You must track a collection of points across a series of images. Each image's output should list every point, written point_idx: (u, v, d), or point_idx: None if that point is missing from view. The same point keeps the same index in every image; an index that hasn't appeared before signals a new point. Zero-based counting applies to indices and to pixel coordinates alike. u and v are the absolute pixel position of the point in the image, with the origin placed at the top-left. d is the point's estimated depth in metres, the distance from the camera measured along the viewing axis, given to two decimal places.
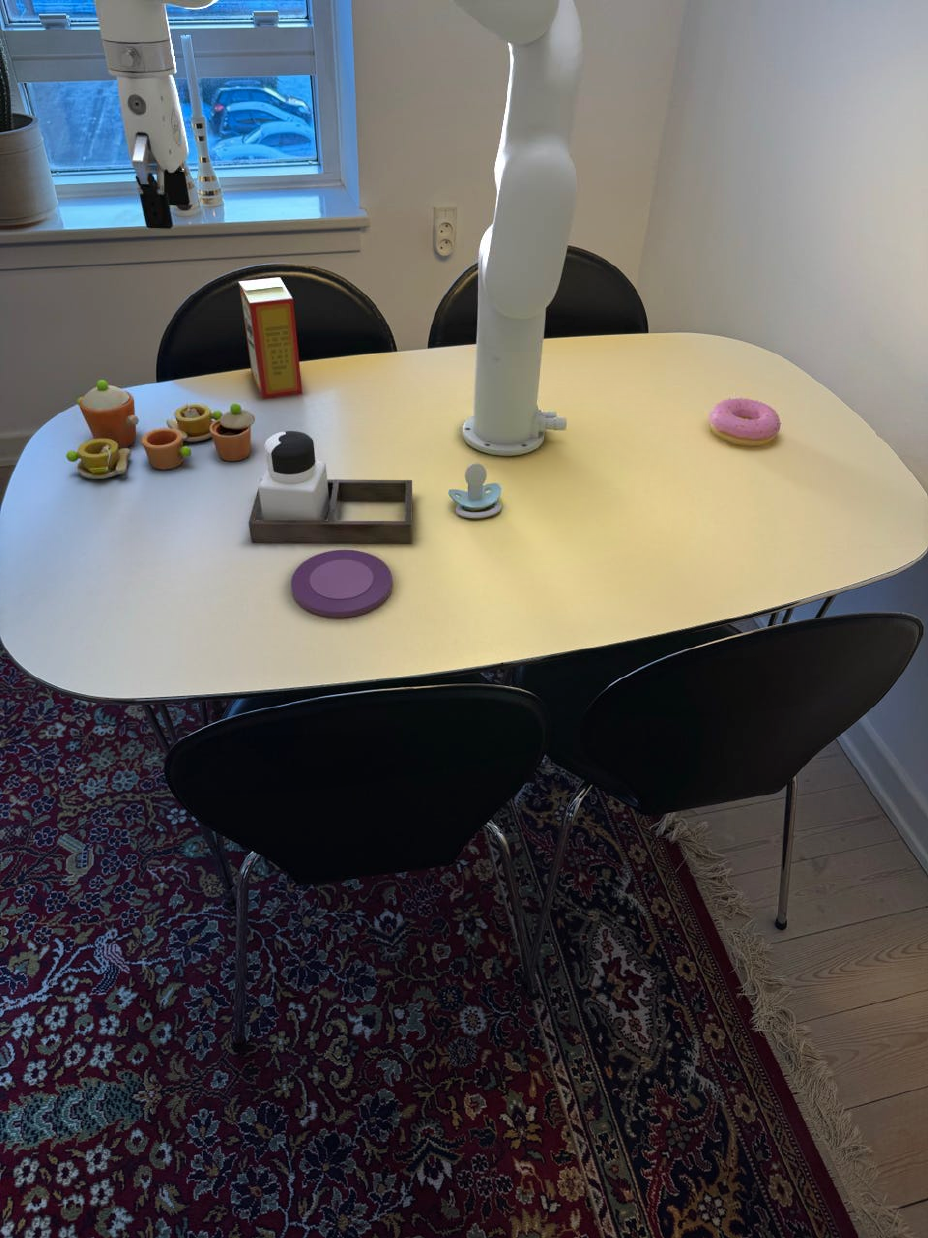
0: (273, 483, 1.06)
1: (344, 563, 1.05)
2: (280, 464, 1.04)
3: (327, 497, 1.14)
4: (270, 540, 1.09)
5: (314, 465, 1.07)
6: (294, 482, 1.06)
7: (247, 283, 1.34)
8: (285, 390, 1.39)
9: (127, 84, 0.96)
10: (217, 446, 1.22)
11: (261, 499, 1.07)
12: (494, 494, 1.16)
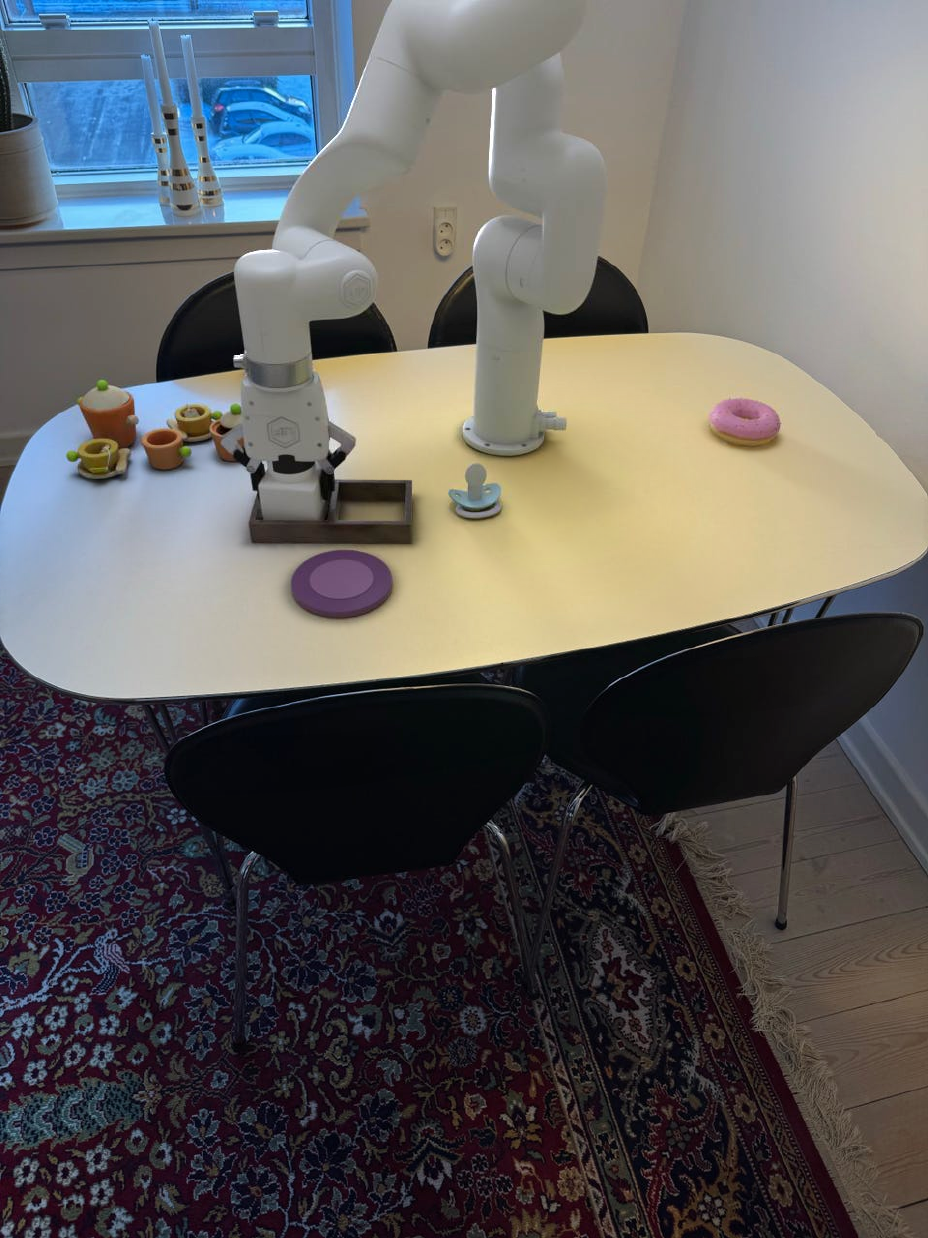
0: (273, 483, 1.06)
1: (344, 563, 1.05)
2: (280, 464, 1.04)
3: None
4: (270, 540, 1.09)
5: (314, 465, 1.07)
6: (294, 482, 1.06)
7: None
8: None
9: None
10: (217, 446, 1.22)
11: (261, 499, 1.07)
12: (494, 494, 1.16)
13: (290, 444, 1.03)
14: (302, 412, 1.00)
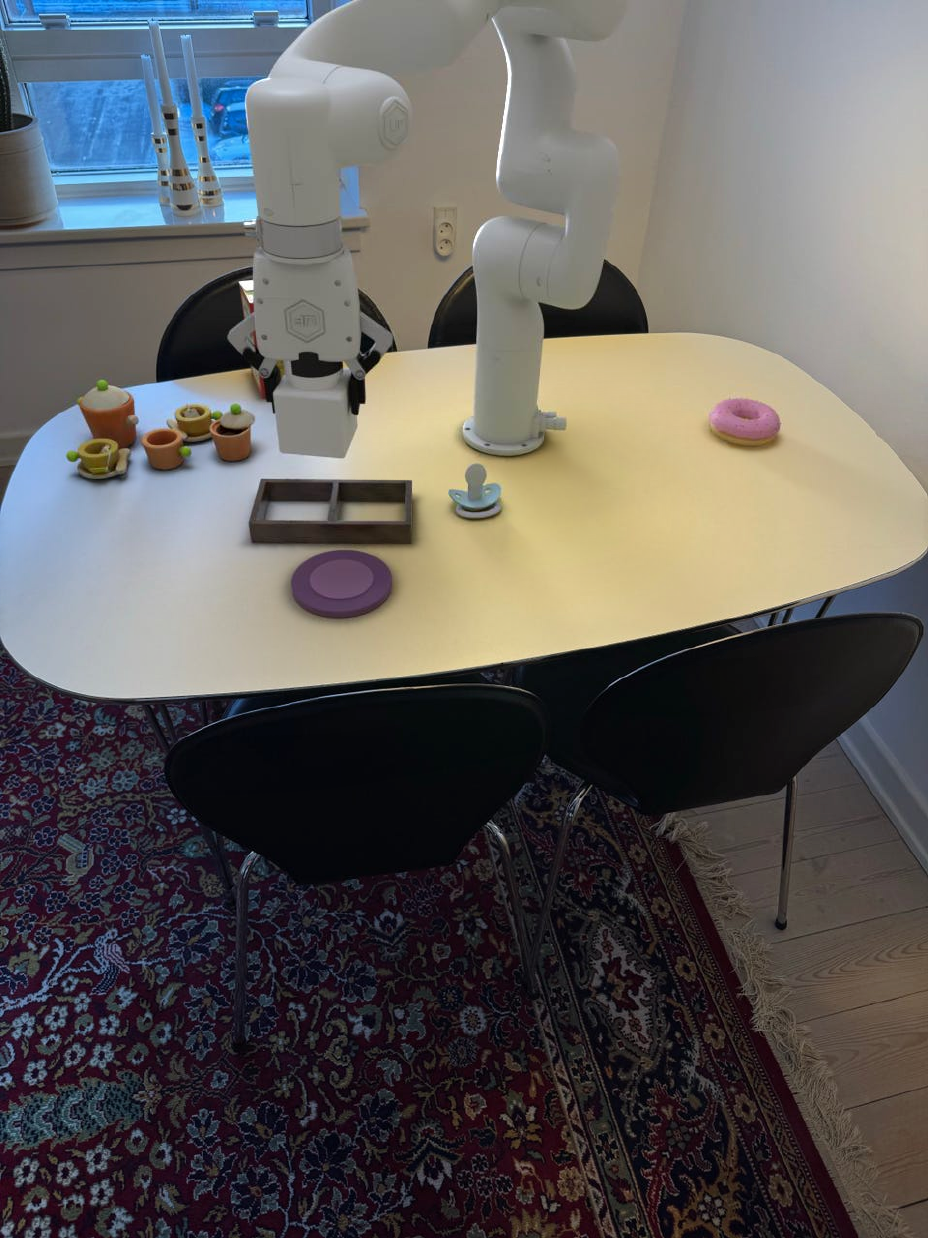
0: (291, 390, 0.87)
1: (344, 563, 1.05)
2: (301, 364, 0.85)
3: None
4: (270, 540, 1.09)
5: (341, 369, 0.88)
6: (317, 389, 0.87)
7: (247, 283, 1.34)
8: None
9: None
10: (217, 446, 1.22)
11: (276, 410, 0.88)
12: (494, 494, 1.16)
13: (313, 337, 0.83)
14: (329, 294, 0.80)
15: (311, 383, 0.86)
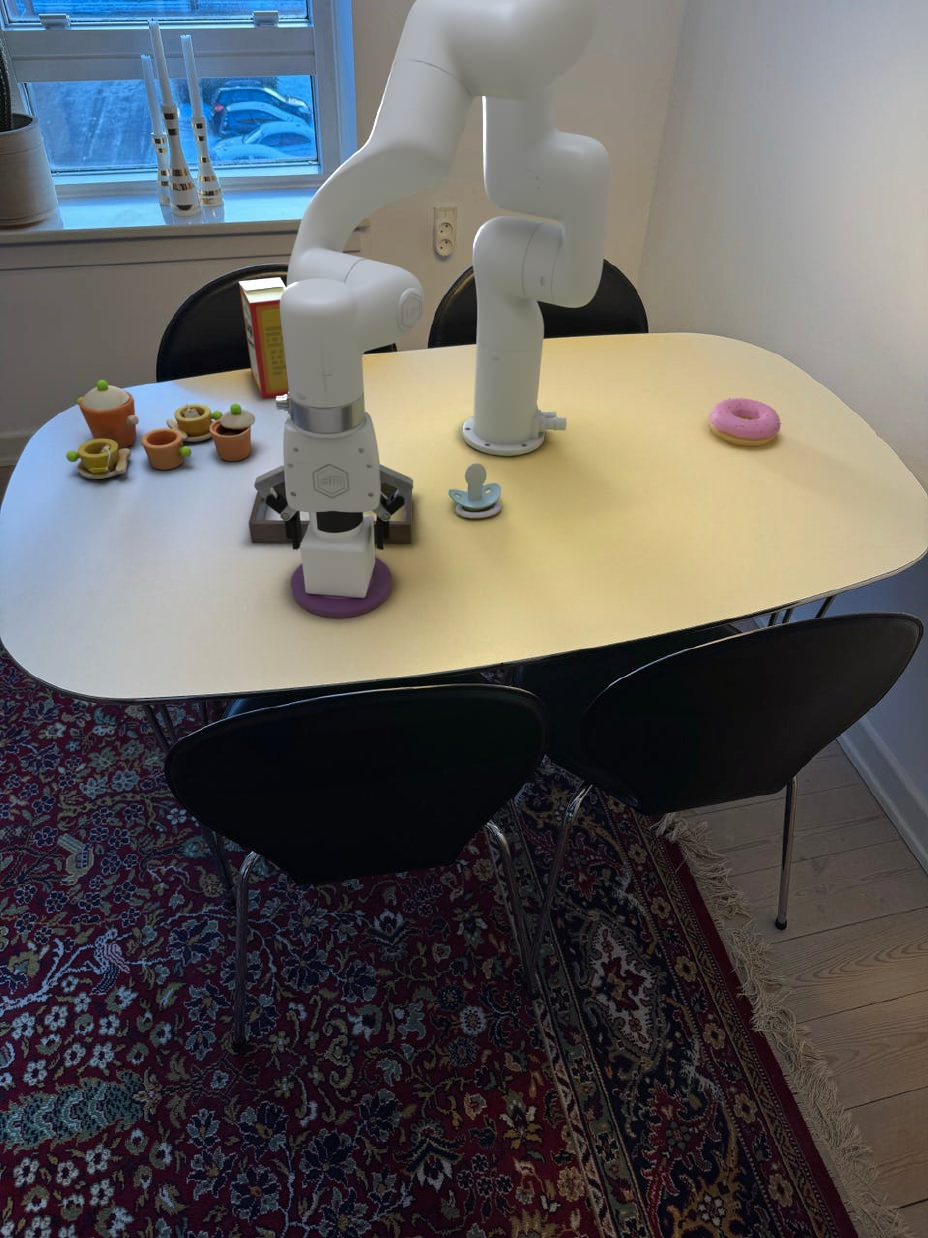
0: (317, 543, 0.95)
1: None
2: (326, 522, 0.93)
3: (373, 553, 1.03)
4: (270, 540, 1.09)
5: (362, 521, 0.96)
6: (340, 541, 0.95)
7: (247, 283, 1.34)
8: (285, 390, 1.39)
9: None
10: (217, 446, 1.22)
11: (303, 559, 0.96)
12: (494, 494, 1.16)
13: (338, 494, 0.91)
14: (353, 459, 0.89)
15: (335, 537, 0.95)
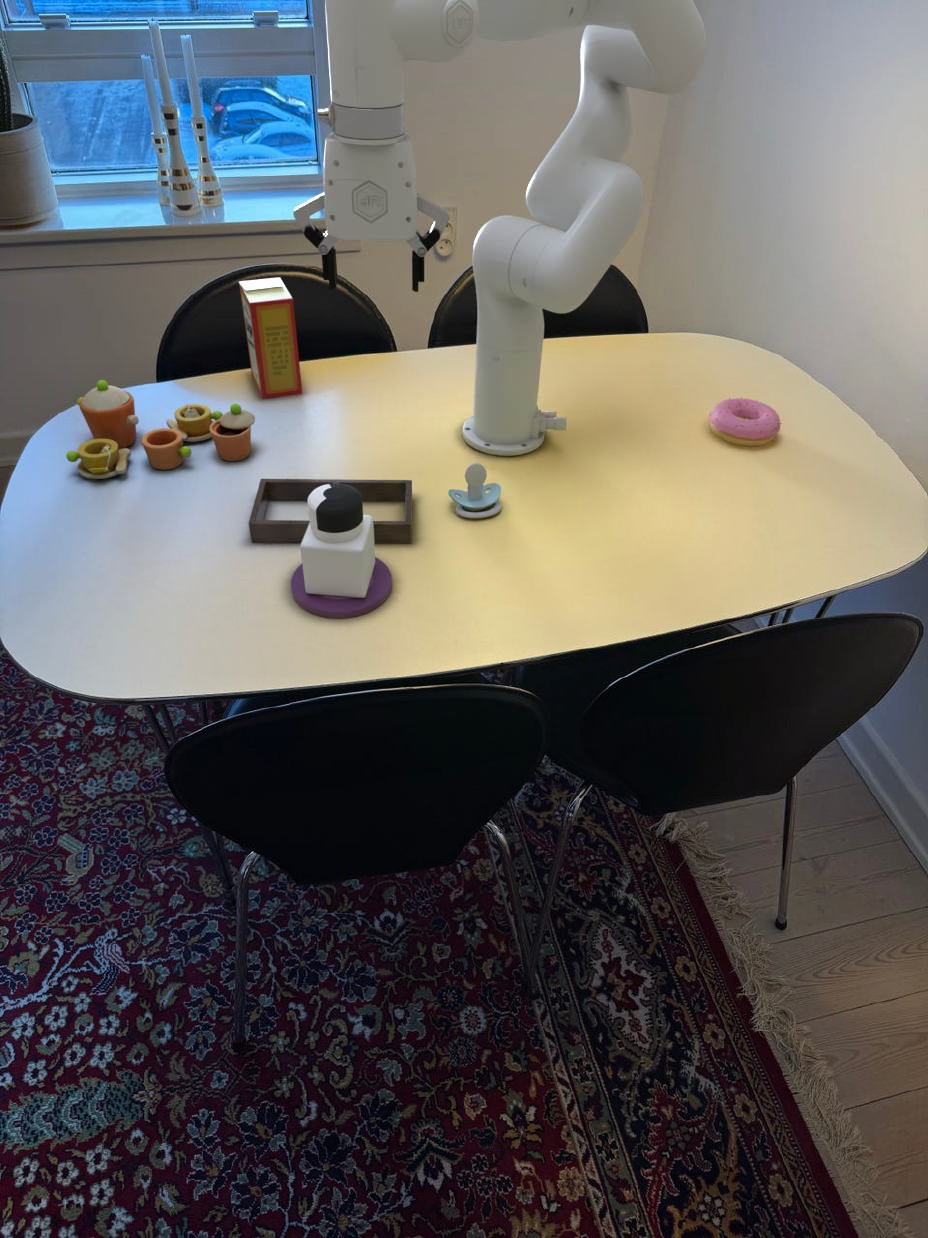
0: (317, 543, 0.95)
1: None
2: (326, 522, 0.93)
3: (373, 553, 1.03)
4: (270, 540, 1.09)
5: (362, 521, 0.96)
6: (340, 541, 0.95)
7: (247, 283, 1.34)
8: (285, 390, 1.39)
9: None
10: (217, 446, 1.22)
11: (303, 559, 0.96)
12: (494, 494, 1.16)
13: (376, 217, 0.93)
14: (392, 175, 0.90)
15: (335, 537, 0.95)
